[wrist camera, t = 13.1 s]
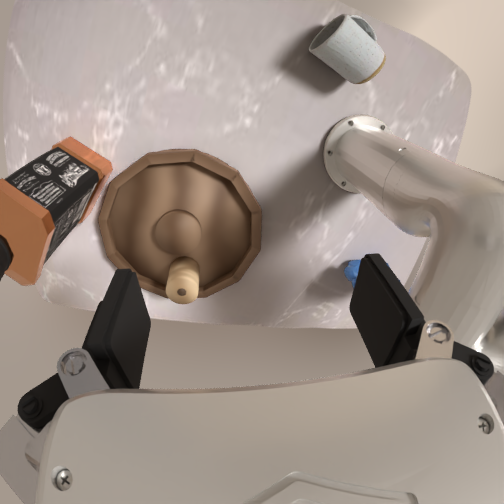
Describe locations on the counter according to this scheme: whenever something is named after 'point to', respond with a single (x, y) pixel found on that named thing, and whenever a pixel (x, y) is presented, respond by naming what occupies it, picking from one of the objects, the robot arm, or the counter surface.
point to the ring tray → (181, 219)
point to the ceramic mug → (349, 48)
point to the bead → (183, 280)
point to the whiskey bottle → (46, 206)
